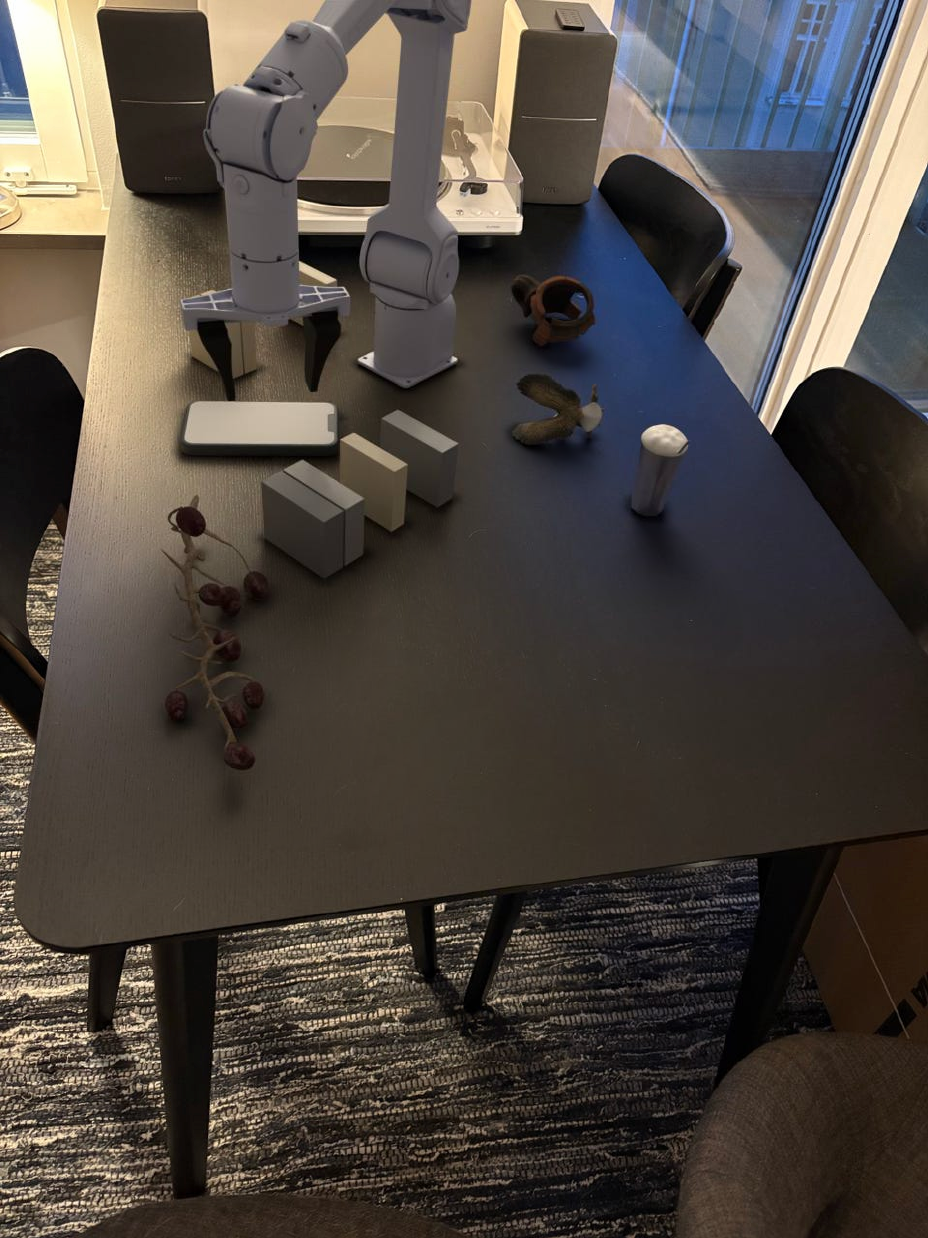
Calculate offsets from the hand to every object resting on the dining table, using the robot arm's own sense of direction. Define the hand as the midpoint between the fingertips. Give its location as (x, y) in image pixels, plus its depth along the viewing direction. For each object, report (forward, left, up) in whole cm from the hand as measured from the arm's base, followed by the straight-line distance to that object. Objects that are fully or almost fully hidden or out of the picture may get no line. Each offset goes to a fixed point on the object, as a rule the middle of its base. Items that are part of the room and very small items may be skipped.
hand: (271, 390), depth 90 cm
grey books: (-2, +10, -10) cm, 14 cm away
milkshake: (-24, +29, -10) cm, 39 cm away
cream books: (-18, -21, -10) cm, 29 cm away
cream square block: (-3, +10, -10) cm, 15 cm away
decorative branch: (+18, +14, -10) cm, 25 cm away
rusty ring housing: (-47, -1, -10) cm, 48 cm away
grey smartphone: (-4, -7, -10) cm, 13 cm away
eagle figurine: (-28, +14, -10) cm, 33 cm away
